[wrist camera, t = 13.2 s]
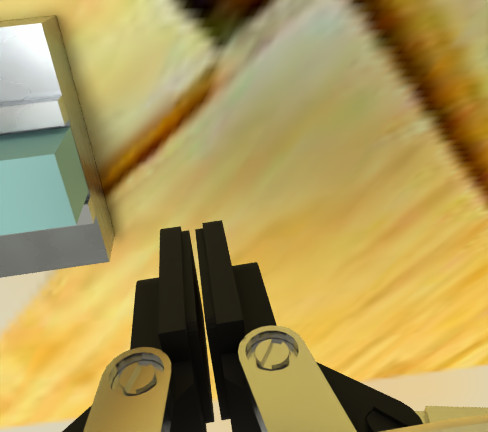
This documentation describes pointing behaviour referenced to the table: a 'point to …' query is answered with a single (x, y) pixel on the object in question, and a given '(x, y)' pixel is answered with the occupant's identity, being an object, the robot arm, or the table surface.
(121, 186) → the table surface
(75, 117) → the socket plate
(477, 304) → the table surface
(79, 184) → the lock bar
